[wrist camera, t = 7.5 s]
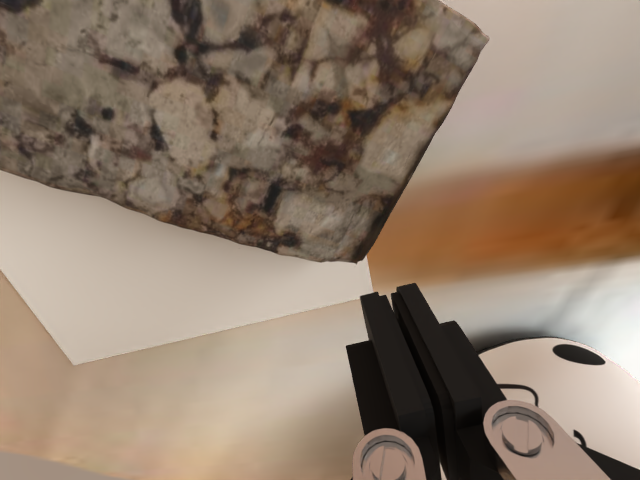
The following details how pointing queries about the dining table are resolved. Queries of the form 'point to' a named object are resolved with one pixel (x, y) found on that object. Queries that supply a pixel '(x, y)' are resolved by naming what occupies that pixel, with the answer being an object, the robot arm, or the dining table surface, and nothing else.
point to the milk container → (572, 391)
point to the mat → (146, 274)
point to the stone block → (233, 110)
